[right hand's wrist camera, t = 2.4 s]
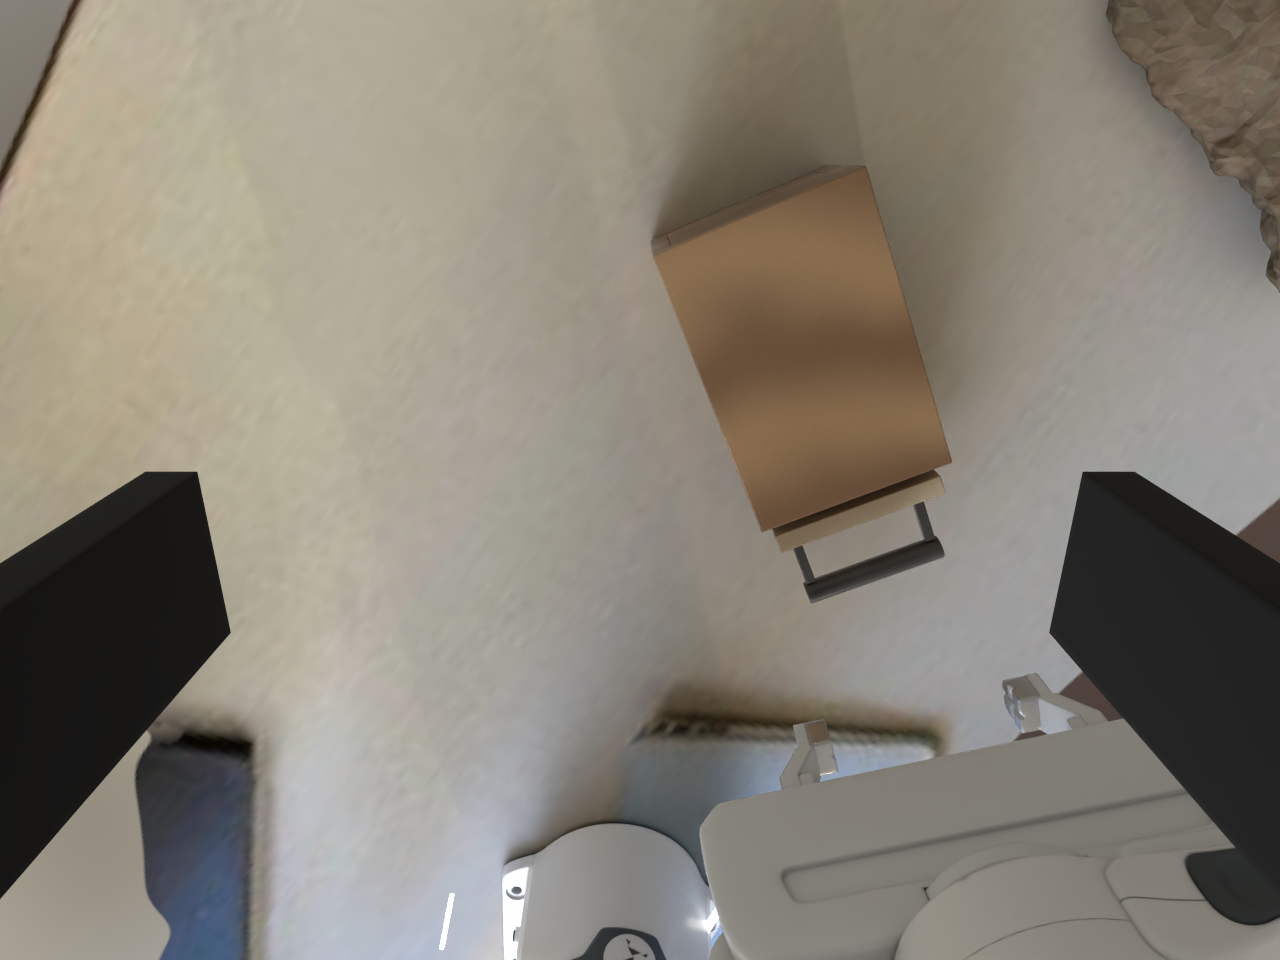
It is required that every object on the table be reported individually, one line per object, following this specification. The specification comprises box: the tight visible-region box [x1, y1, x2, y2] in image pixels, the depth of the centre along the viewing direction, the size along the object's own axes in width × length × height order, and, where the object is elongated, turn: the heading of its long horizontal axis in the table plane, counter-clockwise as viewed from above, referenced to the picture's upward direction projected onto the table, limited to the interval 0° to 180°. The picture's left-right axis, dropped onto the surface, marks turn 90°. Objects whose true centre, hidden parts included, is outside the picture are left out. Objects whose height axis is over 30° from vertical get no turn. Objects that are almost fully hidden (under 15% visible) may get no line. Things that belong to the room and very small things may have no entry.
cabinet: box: [651, 165, 952, 532], centre depth 48 cm, size 17×11×9 cm
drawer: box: [772, 469, 945, 603], centre depth 50 cm, size 21×10×6 cm, turn 22°
